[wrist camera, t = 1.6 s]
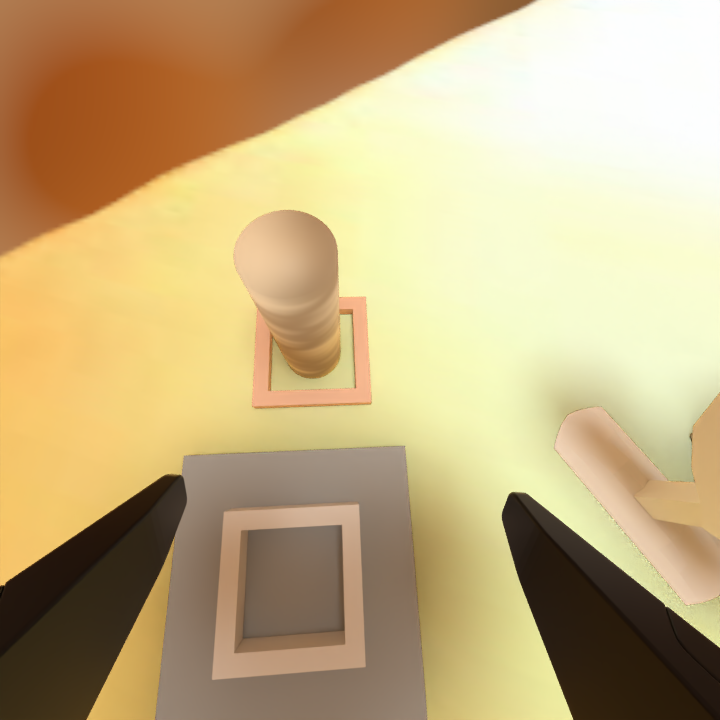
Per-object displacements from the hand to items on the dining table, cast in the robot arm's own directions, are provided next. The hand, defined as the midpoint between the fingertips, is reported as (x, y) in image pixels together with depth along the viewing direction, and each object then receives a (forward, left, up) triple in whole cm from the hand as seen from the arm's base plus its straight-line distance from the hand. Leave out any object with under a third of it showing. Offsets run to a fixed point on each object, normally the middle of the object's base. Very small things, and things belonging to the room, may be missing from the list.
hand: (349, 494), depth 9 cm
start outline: (-2, +9, -13) cm, 16 cm away
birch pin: (-2, +9, -13) cm, 16 cm away
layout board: (-3, -5, -13) cm, 15 cm away
